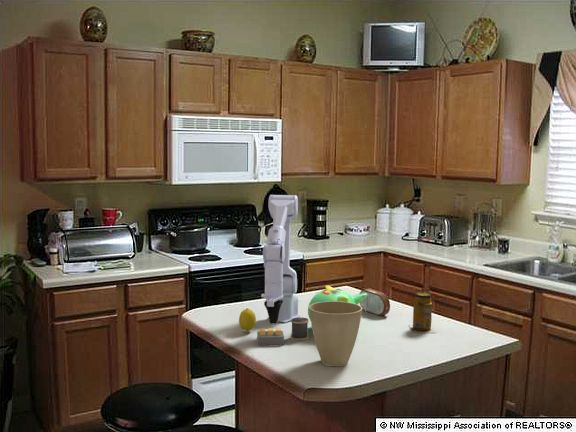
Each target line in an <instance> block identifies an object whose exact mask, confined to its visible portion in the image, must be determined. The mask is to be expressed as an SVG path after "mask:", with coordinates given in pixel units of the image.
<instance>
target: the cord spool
mask: <svg viewBox="0 0 576 432" xmlns="http://www.w3.org/2000/svg"><path fill="white" fill-rule="evenodd" d="M290 322H291V334H290V339H291V340H292V341H297V342H298V341H299V342H300V341H303V342H304V341H307V340H308V339H309V335H308V325H309V322H310V319H309V318H307V317H303V316H300V317H296V318H292V319H291V321H290Z"/></svg>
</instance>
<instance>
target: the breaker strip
mask: <svg viewBox="0 0 576 432" xmlns="http://www.w3.org/2000/svg"><path fill="white" fill-rule="evenodd" d="M256 335H257V336H256V342H257V347H262V346H263V347H264V346H265V347H267V346H269V347H270V345H278V346H284V345H285V335H284V331H283V330H282V328H281V327H275V330H274V328H272V327H270V328H267V331H266V328H262V327H261V328H259V330H258V331H257V333H256Z"/></svg>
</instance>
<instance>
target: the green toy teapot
mask: <svg viewBox="0 0 576 432" xmlns="http://www.w3.org/2000/svg"><path fill="white" fill-rule="evenodd" d="M324 287H325V289H323V290H320V291H319V292H317V293H316V294H314V295H313V297H312V298H311V300H310V301H309V303H308V308H307V317H308V320H309V322H311V318H310V310H309V306H310V305H312V304H314V303H318V302H326V301H340V302H349V303H354V304H357V305H360V302H361V301H362V300H364V299H365V298H366V297H367V294H366V293H363V294H360V293H359V294H353V295H352V294H351V293H350V292H348V291H345V290H343V289H341V288H335V287H332V286H330V285H325V286H324Z"/></svg>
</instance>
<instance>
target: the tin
mask: <svg viewBox="0 0 576 432" xmlns="http://www.w3.org/2000/svg"><path fill="white" fill-rule="evenodd" d="M363 293H366V294H367V297H366V298H365V299H364V300H362V301H361V302H360V303H359V305H360V306H361V307H362V311H365V312H368V313H370V314H374V315H377V316H380V317H381V316H385V315H388V314H389V312H390V310H391V304H390V299H389V298H388V296H387V295H386V293H385V292H382V291H379V290H375V289H373V288H366V289H363V290H361V291H360V292H359V294H363Z"/></svg>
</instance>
